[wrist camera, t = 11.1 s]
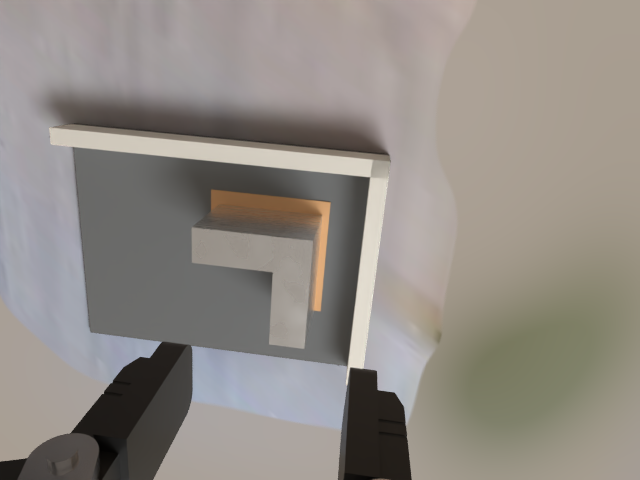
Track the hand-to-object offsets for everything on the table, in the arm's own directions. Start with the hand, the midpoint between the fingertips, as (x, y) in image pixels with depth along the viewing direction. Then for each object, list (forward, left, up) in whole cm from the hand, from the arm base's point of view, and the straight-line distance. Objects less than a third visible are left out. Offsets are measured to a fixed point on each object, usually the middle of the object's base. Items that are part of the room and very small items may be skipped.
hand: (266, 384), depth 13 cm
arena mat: (-3, -10, -24) cm, 26 cm away
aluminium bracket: (-1, -8, -24) cm, 25 cm away
